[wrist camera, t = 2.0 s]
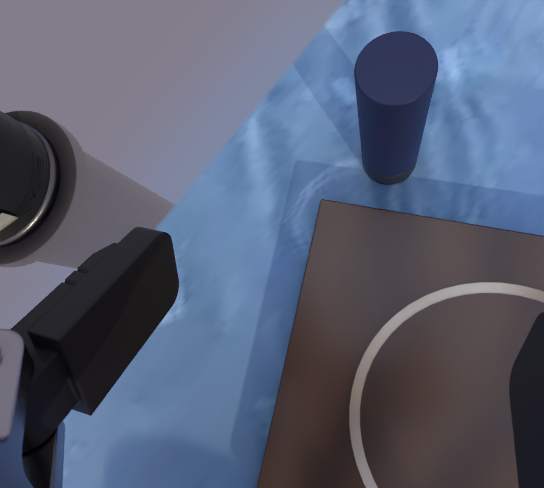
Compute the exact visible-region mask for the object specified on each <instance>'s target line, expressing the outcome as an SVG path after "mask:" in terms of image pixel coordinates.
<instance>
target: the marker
mask: <svg viewBox="0 0 544 488" xmlns="http://www.w3.org/2000/svg"><path fill="white" fill-rule="evenodd" d="M437 72H438V60H437V56H436V53H435V51H434V49H433V48H432V46H431V45H430V44H429V43H428V42H427V41H426V40H425V39H424V38H422V37H420V36H419V35H416V34H414V33H410V32H403V31H397V32H390V33H386V34H383V35H381V36H379V37H377V38H375V39H374V40H372V41H371V42H370V43H368V44H367V45H366V46H365V47H364V49H363V50H362V51H361V53H360V54H359V56H358V58H357V61H356V64H355V69H354V76H355V86H356V97H357V107H358V118H359V128H360V139H361V150H362V160H363V166H364V169H365V171H366V173H367V174H368V176H369V177H370V178H371V179H373V180H374V181H376V182H379V183H382V184H395V183H398V182H401V181H403V180H404V179H406V178H407V177H408V176H409V175H410V174H411V173H412V171H413V170H414V168H415V165H416V161H417V157H418V152H419V148H420V144H421V140H422V135H423V131H424V127H425V123H426V118H427V114H428V110H429V106H430V102H431V97H432V93H433V89H434V85H435V80H436V76H437Z"/></svg>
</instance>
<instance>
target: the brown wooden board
mask: <svg viewBox="0 0 544 488" xmlns="http://www.w3.org/2000/svg"><path fill="white" fill-rule="evenodd" d="M542 312H544V236H540V235H534V234H528V233H522V232H516V231H510V230H504V229H498V228H492V227H486V226H480V225H474V224H468V223H462V222H456V221H450V220H444V219H437V218H431V217H425V216H419V215H413V214H407V213H401V212H395V211H389V210H383V209H377V208H371V207H365V206H359V205H353V204H347V203H341V202H335V201H329V200H323V199H322V200H321V202H320V206H319V211H318V215H317V220H316V224H315V229H314V233H313V238H312V242H311V247H310V251H309V256H308V260H307V265H306V269H305V274H304V278H303V283H302V287H301V292H300V296H299V301H298V305H297V310H296V314H295V319H294V323H293V328H292V332H291V337H290V341H289V346H288V350H287V355H286V359H285V364H284V368H283V373H282V377H281V382H280V386H279V391H278V395H277V400H276V404H275V409H274V413H273V418H272V422H271V427H270V431H269V436H268V440H267V445H266V449H265V454H264V458H263V463H262V467H261V472H260V476H259V481H258V485H257V488H519V484H518V474H517V464H516V455H515V445H514V435H513V426H512V416H511V407H510V397H509V382H510V375H511V370H512V367H513V364H514V362H515V360H516V358H517V356H518V354H519V352H520V350H521V348H522V346H523V344H524V342H525V340H526V338H527V336H528V334H529V332H530V330H531V328H532V326H533V324H534V322H535V320H536V318H537V316H538V315H539V314H540V313H542Z"/></svg>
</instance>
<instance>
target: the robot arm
mask: <svg viewBox="0 0 544 488" xmlns="http://www.w3.org/2000/svg"><path fill="white" fill-rule="evenodd" d="M60 178H61V170H60V163H59V158H58V155H57V153H56V150H55V148H54V146H53V145H52V143H51V142H50V141H49V139H48V138H47V137H46V136H45V135H43V134H42V133H41V132H39V131H38V130H36V129H34V128H32V127H30V126H29V125H27V124H25V123H22V122H19V121H17V120H15V119H13V118H12V117H10V116H8V115H6V114H5V113H3V112H1V111H0V247H7V246H11V245H14V244H16V243H19V242H21V241H22V240H24V239H26V238H27V237H29V236H30V235H31V234H33V233H34V232H35V231H36V230H37V229H38V228H39V227H40V226H41V225H42V224H43V222H44V221H45V220H46V218H47V217H48V215H49V214H50V212H51V210H52V208H53V206H54V204H55V201H56V198H57V195H58V192H59V187H60ZM178 289H179V279H178V273H177V267H176V262H175V256H174V250H173V244H172V239H171V236H170V235H169V234H168V233H166V232H161V231H156V230H152V229H147V228H142V227H136V228H134V229H133V230H132V231H131V232H130V233H128V234H127V235H126V236H125V237H124V238H123V239H122V240H121V241H120V242H119V243H118V244H117V243H113V244H111V245H109V246H107V247H105V248H103V249H101V250H99V251H98V252H96V253H94V254H92V255H91V256H90V257H89V258H88V259H87V260H86V261H85V262H84V263H83V264H82V265H80V266H79V267H78V270H77V271H74V272H73V273H72V274H71V275H69V276H68V277H67V278H66V279H65V282H64V283H61V284H60V285H59V286H57V287H56V288H55V289H54V290H53V291H52V292H51V293H50V294H49V295H48V296H47V297H46V298H45V299H43V300H42V301H41V302H40V303H39V304H38V305H37V306H36V307H35V308H33V310H31V311H30V312H29V313H28V314H27V315H26V316H25V317H24V318H23V319H22V320H20V321H19V322H18V323H17V324H16V325H15V326H14V327H13V328H11V329H10V330H9V329H0V488H62V481H63V460H64V440H65V425H64V421H63V420H64V418H65V417H66V416H67V415H68V413H69V412H70V411H71V409H73V410H76V411H79V412H82V413H85V414H88V415H90V416H91V415H92V414H93V412H94V411H95V410H96V408H97V407H98V406H99V404H100V403H101V402H102V400H103V399H104V398H105V396H106V395H107V393H108V392H109V391H110V389H111V388H112V387H113V385H114V384H115V383H116V381H117V380H118V379H119V377H120V376H121V375H122V373H123V372H124V371H125V369H126V368H127V366H128V365H129V364H130V362H131V361H132V360H133V358H134V357H135V356H136V354H137V353H138V352H139V350H140V349H141V348H142V346H143V345H144V344H145V342H146V341H147V339H148V338H149V337H150V335H151V334H152V333H153V331H154V330H155V329H156V327H157V326H158V325H159V323H160V322H161V321H162V319H163V318H164V317H165V315H166V314H167V312H168V311H169V310H170V308H171V307H172V306H173V304H174V302H175V300H176V297H177V294H178ZM509 397H510V407H511V416H512V426H513V435H514V445H515V455H516V464H517V474H518V484H519V488H544V312H542V313H540V314H539V315H538V316H537V318H536V320H535V322H534V324H533V326H532V328H531V330H530V332H529V334H528V336H527V338H526V340H525V342H524V344H523V346H522V348H521V350H520V352H519V354H518V356H517V358H516V360H515V362H514V364H513V367H512V370H511V375H510V382H509Z"/></svg>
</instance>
